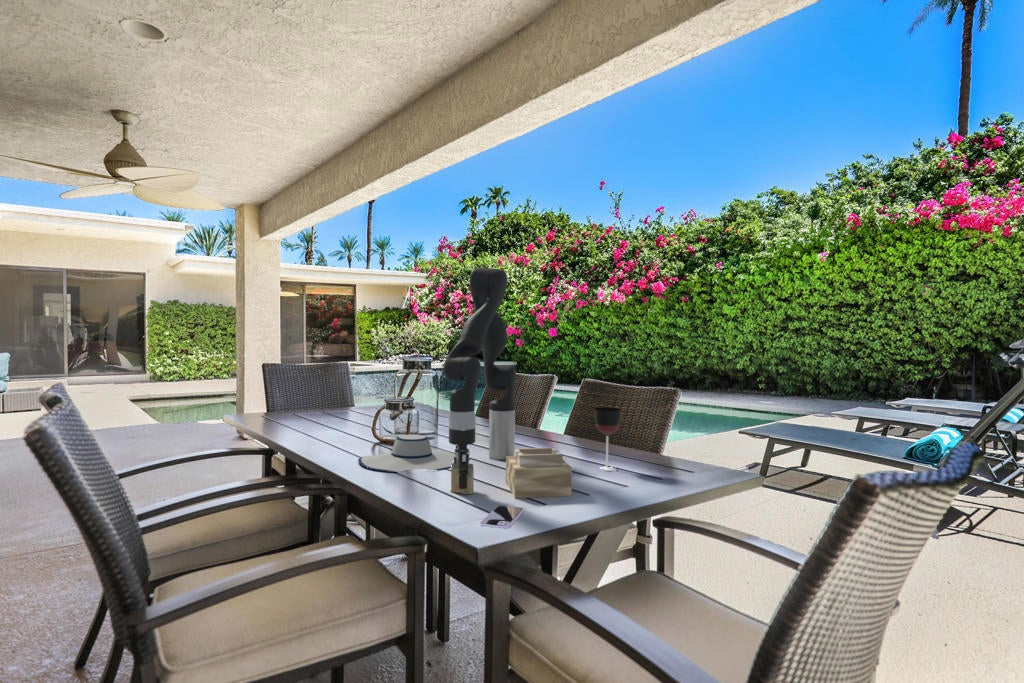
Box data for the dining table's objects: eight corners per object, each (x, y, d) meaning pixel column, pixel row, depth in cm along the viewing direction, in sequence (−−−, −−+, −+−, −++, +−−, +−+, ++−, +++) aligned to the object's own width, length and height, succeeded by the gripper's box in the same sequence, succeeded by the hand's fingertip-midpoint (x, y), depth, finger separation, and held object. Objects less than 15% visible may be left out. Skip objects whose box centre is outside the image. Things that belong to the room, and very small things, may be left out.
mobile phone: (525, 507, 151) (508, 526, 137) (525, 510, 151) (508, 530, 137) (497, 504, 153) (478, 523, 139) (497, 508, 153) (478, 527, 139)
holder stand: (505, 482, 177) (506, 446, 176) (557, 480, 179) (557, 445, 179) (515, 498, 161) (515, 458, 161) (571, 495, 164) (571, 456, 163)
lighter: (476, 492, 166) (476, 457, 166) (468, 495, 163) (469, 460, 163) (455, 489, 170) (455, 454, 169) (447, 492, 166) (447, 457, 166)
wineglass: (620, 472, 190) (620, 411, 189) (593, 471, 192) (593, 410, 191) (620, 466, 198) (621, 407, 197) (594, 465, 199) (595, 407, 199)
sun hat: (370, 480, 181) (370, 451, 181) (350, 456, 214) (350, 431, 214) (478, 468, 197) (478, 441, 196) (444, 447, 229) (444, 424, 229)
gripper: (447, 422, 172) (447, 479, 173) (450, 431, 158) (450, 493, 159) (472, 421, 174) (472, 478, 174) (478, 430, 159) (477, 492, 160)
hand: (461, 485), depth 166 cm, fingers closed on lighter, 5 cm apart
